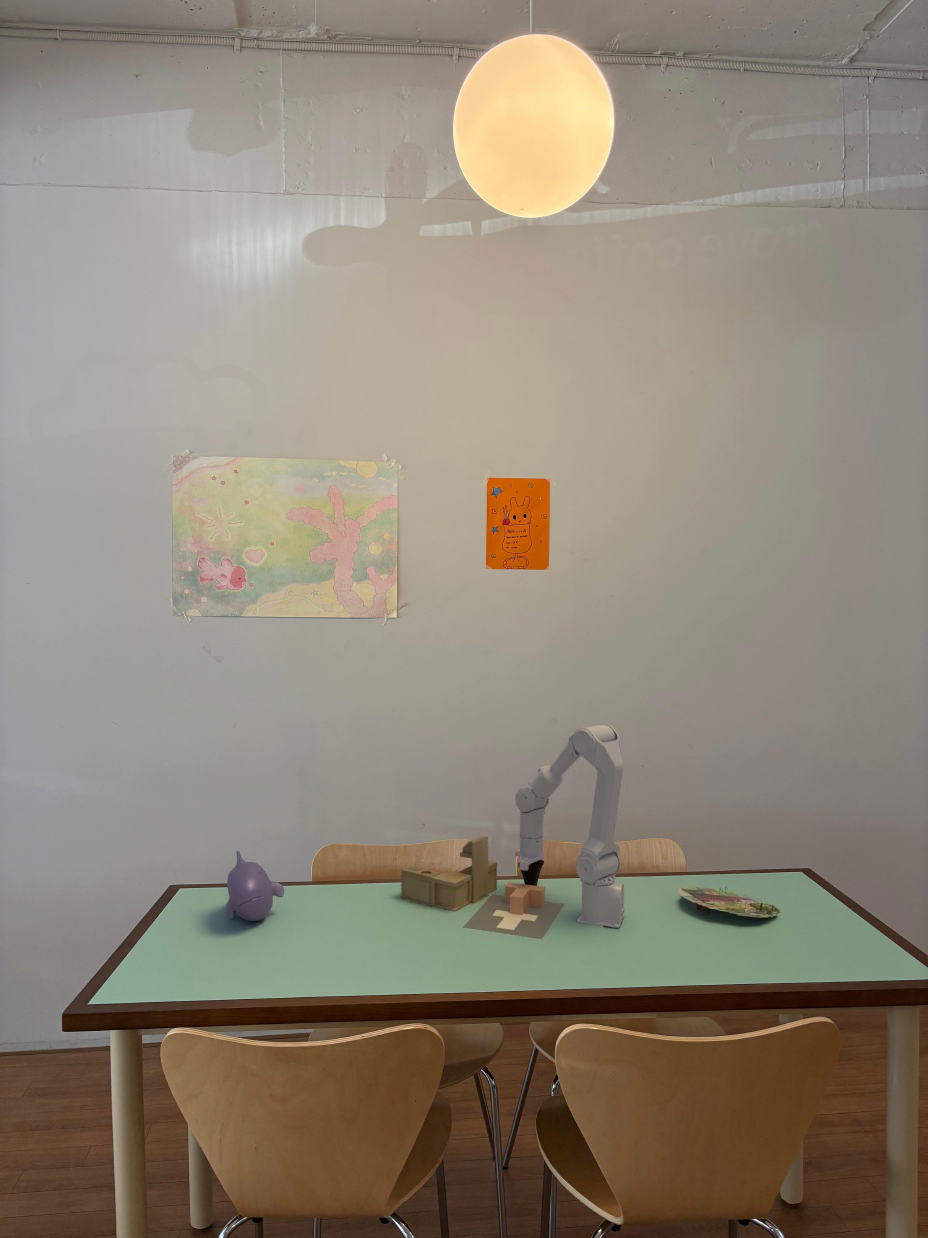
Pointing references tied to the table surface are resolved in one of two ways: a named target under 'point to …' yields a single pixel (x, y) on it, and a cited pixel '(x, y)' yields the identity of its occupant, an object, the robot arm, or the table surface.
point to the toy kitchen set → (453, 880)
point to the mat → (514, 918)
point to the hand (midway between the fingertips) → (530, 891)
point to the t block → (523, 897)
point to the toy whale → (250, 891)
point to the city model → (726, 902)
